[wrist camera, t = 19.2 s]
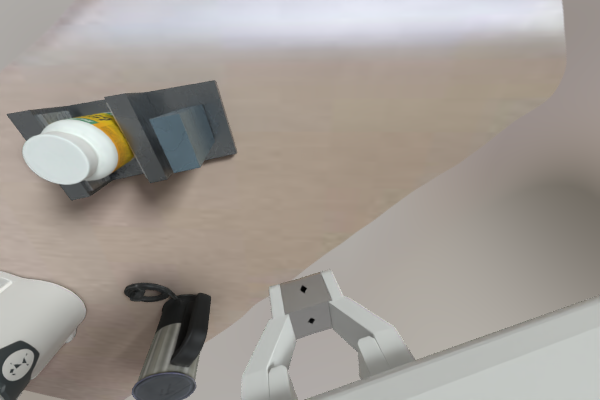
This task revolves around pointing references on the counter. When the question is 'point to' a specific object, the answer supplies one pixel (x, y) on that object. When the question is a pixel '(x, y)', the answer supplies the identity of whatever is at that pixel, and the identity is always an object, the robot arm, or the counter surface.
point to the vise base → (162, 104)
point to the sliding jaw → (162, 135)
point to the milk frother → (172, 344)
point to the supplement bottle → (78, 149)
